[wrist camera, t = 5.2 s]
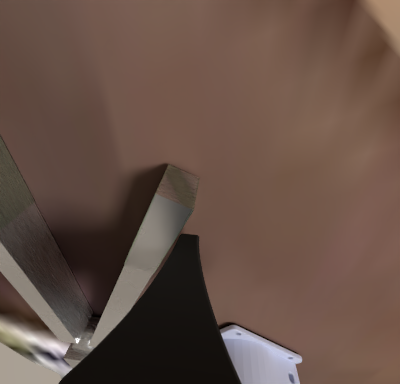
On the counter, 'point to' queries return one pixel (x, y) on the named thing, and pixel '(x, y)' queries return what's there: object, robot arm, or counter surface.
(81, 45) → the counter surface
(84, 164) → the counter surface
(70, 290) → the arm
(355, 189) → the counter surface
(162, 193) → the bar
